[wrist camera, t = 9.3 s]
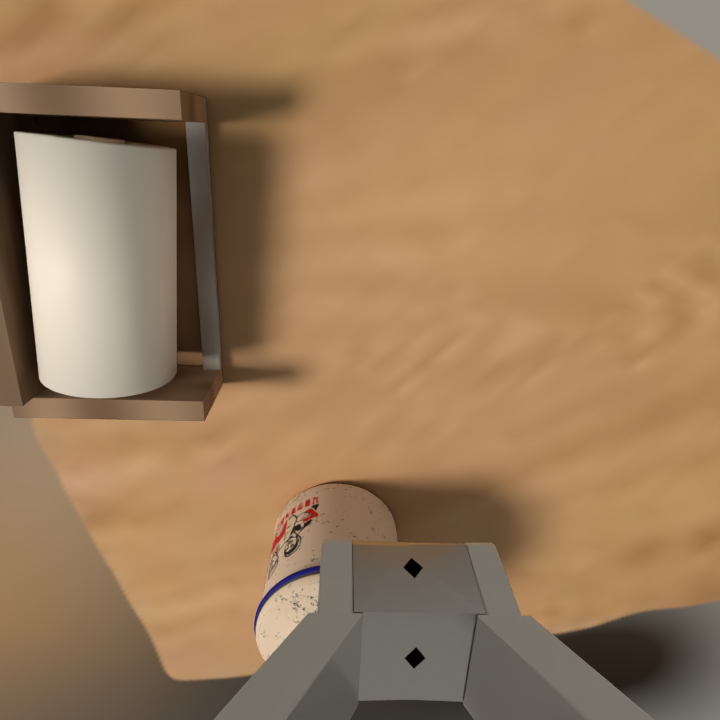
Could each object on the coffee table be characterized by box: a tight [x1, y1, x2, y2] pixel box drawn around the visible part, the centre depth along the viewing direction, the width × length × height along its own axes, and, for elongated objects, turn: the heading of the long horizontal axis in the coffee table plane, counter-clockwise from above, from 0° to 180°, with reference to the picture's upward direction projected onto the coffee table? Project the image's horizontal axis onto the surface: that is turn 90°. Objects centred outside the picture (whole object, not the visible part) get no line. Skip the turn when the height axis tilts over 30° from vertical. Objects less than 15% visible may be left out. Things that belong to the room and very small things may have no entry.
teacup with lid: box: [254, 484, 398, 661], centre depth 35 cm, size 12×9×12 cm
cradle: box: [0, 82, 223, 421], centre depth 29 cm, size 10×16×6 cm, turn 178°
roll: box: [14, 131, 177, 398], centre depth 29 cm, size 12×7×7 cm, turn 173°
